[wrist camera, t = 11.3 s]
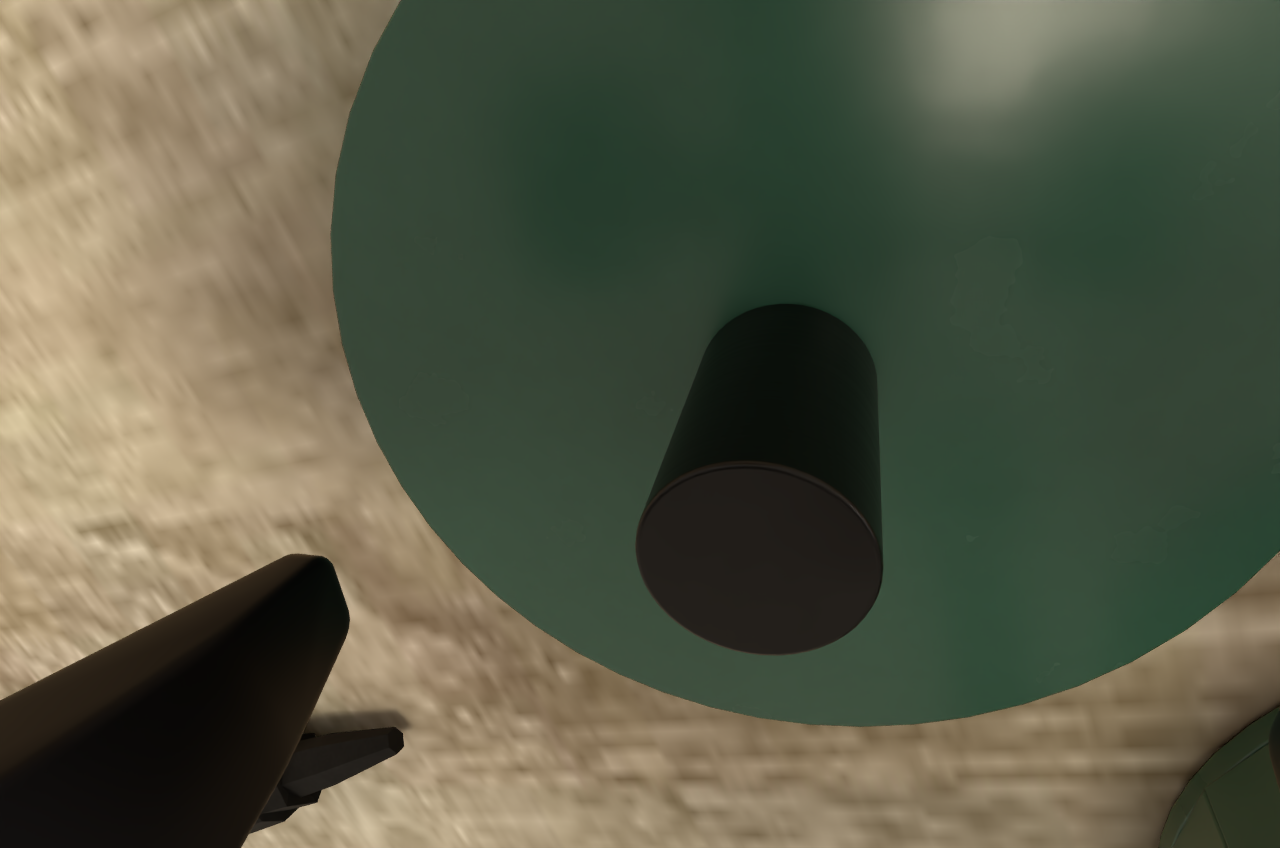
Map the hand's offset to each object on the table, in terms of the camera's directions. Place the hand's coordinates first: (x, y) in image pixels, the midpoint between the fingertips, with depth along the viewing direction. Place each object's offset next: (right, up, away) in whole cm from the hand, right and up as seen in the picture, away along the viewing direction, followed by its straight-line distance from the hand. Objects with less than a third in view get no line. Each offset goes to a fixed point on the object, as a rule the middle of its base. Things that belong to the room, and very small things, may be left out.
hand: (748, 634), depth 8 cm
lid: (+1, +3, +5) cm, 6 cm away
